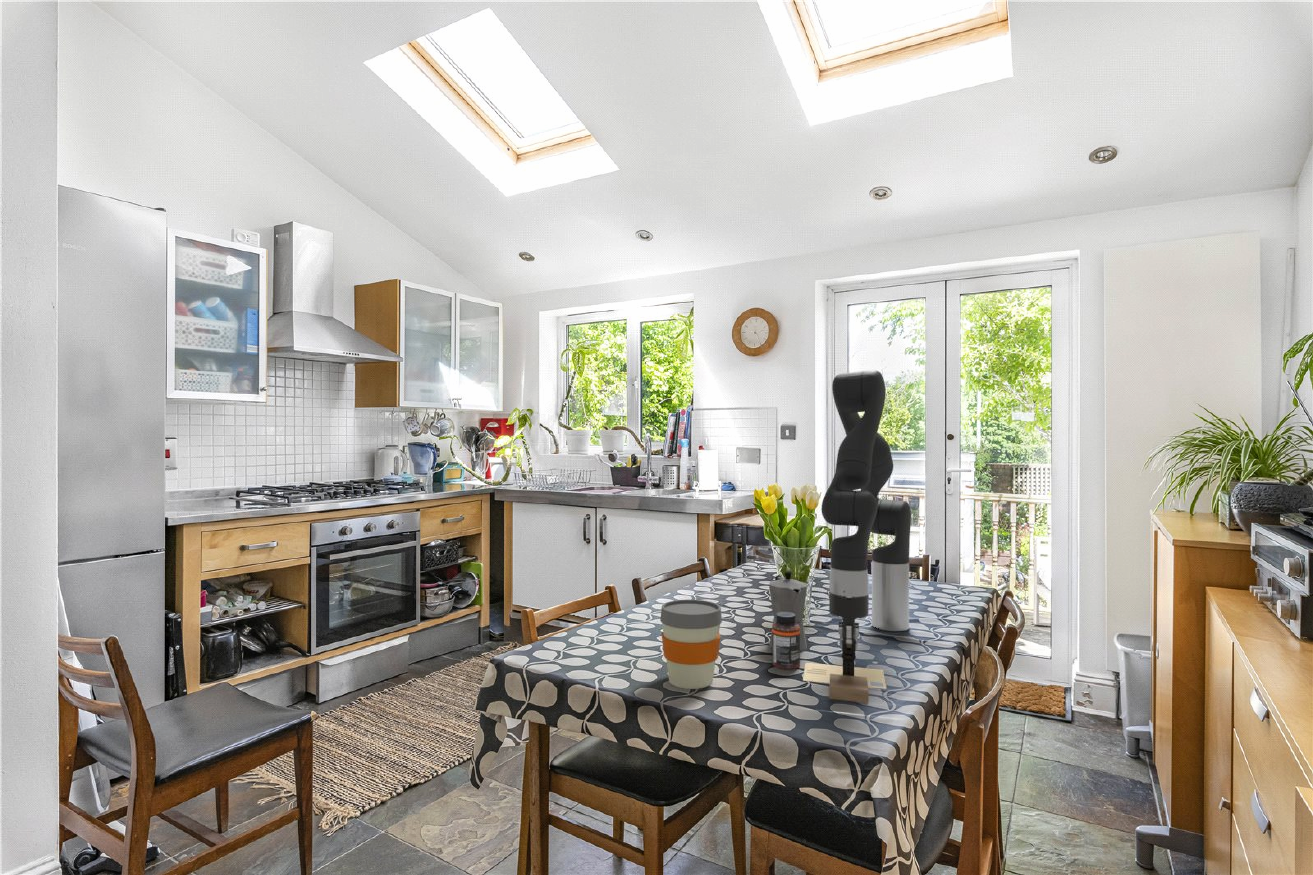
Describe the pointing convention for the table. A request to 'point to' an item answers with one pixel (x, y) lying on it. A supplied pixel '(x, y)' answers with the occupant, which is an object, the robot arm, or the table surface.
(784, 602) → the coffeepot
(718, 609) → the reusable coffee cup
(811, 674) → the letter
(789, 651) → the supplement bottle
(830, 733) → the table surface
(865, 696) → the block
